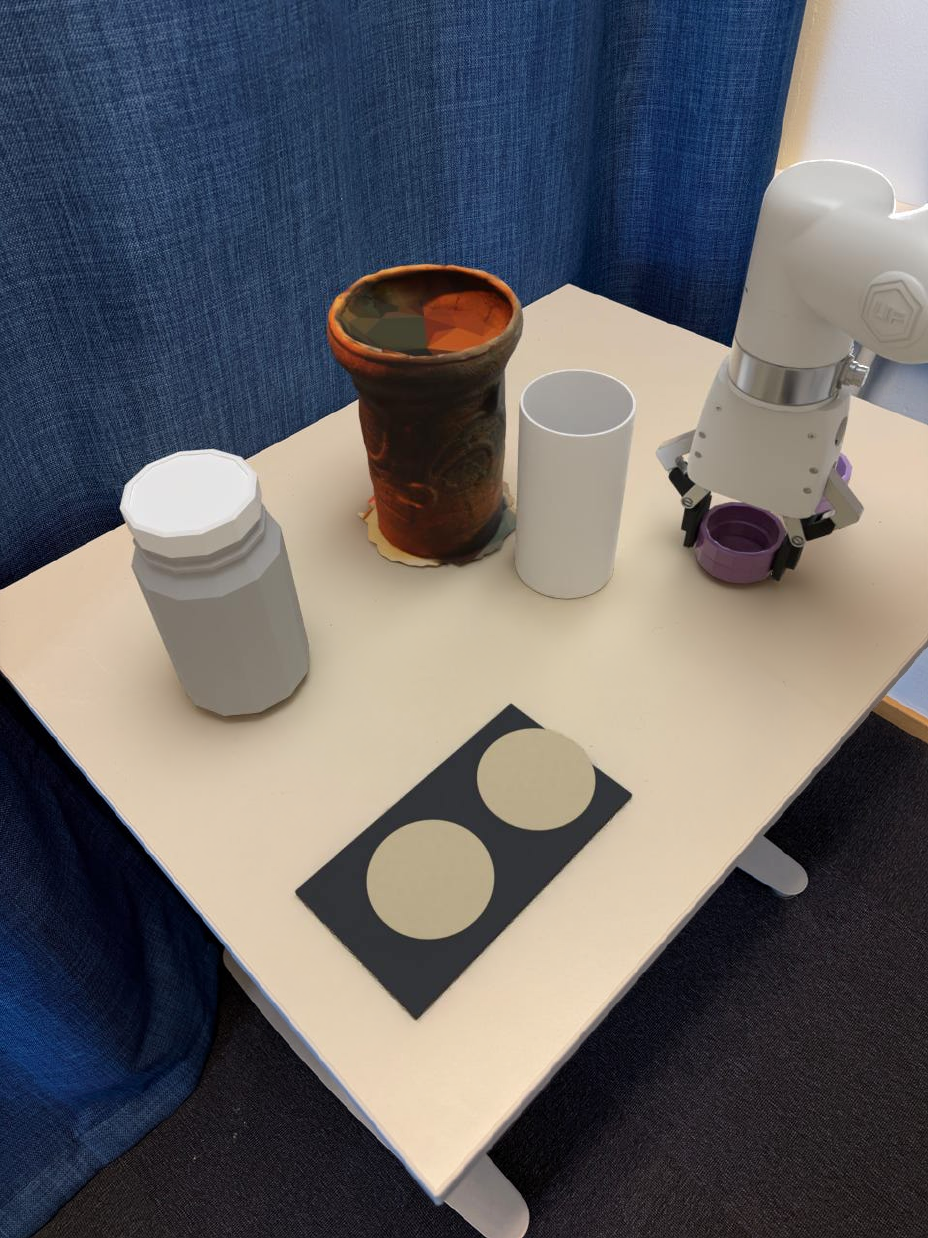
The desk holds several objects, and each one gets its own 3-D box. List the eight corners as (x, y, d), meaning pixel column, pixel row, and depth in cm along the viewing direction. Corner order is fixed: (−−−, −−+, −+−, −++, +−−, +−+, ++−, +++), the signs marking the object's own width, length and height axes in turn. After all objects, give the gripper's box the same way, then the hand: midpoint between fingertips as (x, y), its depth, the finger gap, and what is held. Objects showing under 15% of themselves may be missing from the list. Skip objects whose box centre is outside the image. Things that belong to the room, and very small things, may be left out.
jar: (174, 645, 71) (99, 461, 57) (296, 610, 73) (251, 425, 59) (194, 742, 64) (116, 562, 51) (327, 701, 67) (285, 518, 53)
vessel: (403, 448, 87) (384, 244, 72) (542, 487, 82) (553, 278, 67) (326, 543, 78) (286, 334, 63) (476, 591, 74) (472, 379, 59)
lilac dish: (801, 461, 84) (811, 431, 81) (857, 501, 80) (869, 471, 77) (747, 486, 82) (756, 455, 79) (802, 528, 78) (812, 498, 75)
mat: (515, 702, 66) (515, 698, 66) (636, 792, 61) (637, 788, 61) (295, 893, 57) (294, 890, 56) (416, 1020, 51) (415, 1017, 51)
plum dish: (737, 521, 78) (745, 491, 76) (793, 568, 74) (804, 537, 72) (677, 550, 76) (683, 519, 73) (732, 599, 72) (740, 568, 69)
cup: (589, 520, 79) (607, 359, 67) (630, 584, 74) (656, 421, 62) (501, 542, 77) (503, 381, 66) (536, 609, 72) (545, 447, 60)
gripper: (933, 371, 60) (855, 563, 73) (688, 307, 67) (657, 494, 80) (903, 429, 56) (827, 622, 69) (645, 355, 63) (620, 544, 76)
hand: (736, 552), depth 74 cm, fingers closed on plum dish, 6 cm apart
